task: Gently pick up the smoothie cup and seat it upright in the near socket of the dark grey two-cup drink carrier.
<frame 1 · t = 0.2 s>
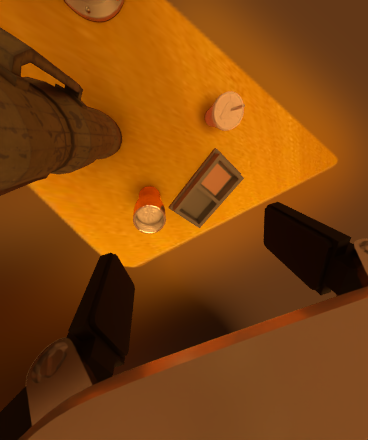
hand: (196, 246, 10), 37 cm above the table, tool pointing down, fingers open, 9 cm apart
beer glass: (149, 196, 45), on the table
smoothie: (211, 117, 39), on the table
drink carrier: (203, 190, 47), on the table
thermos: (102, 135, 36), on the table
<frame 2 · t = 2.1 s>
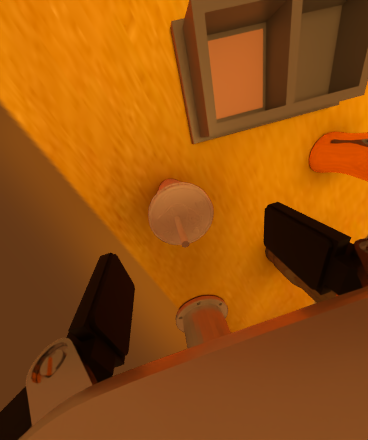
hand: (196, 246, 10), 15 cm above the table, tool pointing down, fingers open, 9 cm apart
beer glass: (324, 152, 26), on the table
smoothie: (170, 190, 24), on the table
drink carrier: (264, 73, 19), on the table
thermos: (283, 244, 33), on the table
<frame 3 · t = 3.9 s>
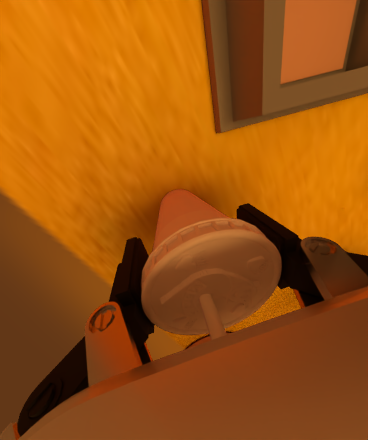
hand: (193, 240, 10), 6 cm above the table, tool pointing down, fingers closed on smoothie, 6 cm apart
smoothie: (179, 206, 15), on the table, touching gripper
drink carrier: (350, 4, 11), on the table
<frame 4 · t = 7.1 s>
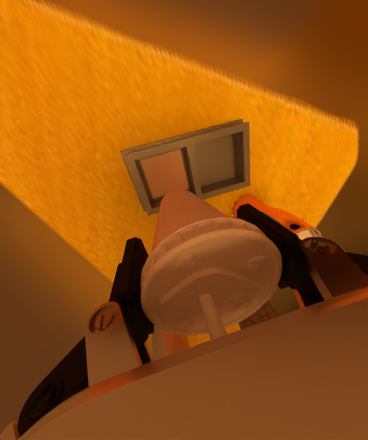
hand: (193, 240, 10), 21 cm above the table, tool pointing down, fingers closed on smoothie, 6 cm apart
beer glass: (245, 207, 36), on the table
smoothie: (179, 206, 15), point 16 cm above the table, touching gripper
drink carrier: (188, 167, 29), on the table
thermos: (227, 266, 44), on the table
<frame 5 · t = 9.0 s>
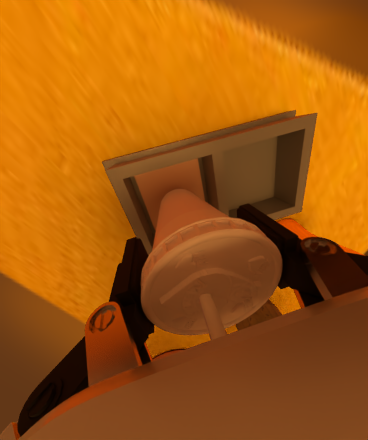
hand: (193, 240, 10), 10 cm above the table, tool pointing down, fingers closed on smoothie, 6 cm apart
beer glass: (279, 234, 26), on the table
smoothie: (179, 206, 15), point 5 cm above the table, touching gripper
drink carrier: (207, 183, 20), on the table
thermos: (249, 304, 34), on the table
when the fingers open (8 cm above the table, at t = 10.5 s): smoothie stays where it is, resting on drink carrier.
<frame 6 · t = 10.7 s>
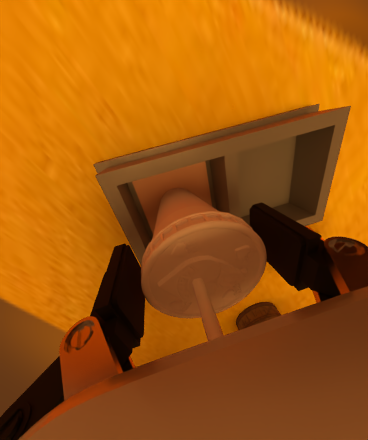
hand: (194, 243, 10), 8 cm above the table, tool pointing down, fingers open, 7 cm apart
smoothie: (177, 204, 16), point 1 cm above the table, touching drink carrier
drink carrier: (215, 188, 17), on the table
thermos: (255, 315, 32), on the table
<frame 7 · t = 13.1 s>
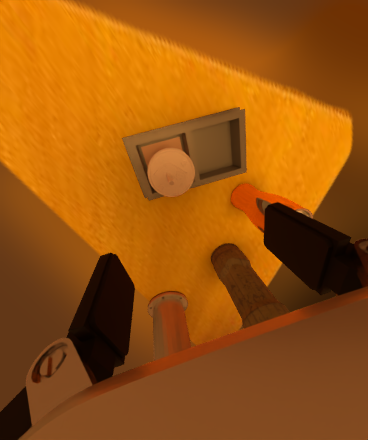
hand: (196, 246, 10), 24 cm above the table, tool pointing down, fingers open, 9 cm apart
beer glass: (242, 195, 37), on the table
smoothie: (165, 163, 29), point 1 cm above the table, touching drink carrier
drink carrier: (187, 155, 30), on the table
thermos: (225, 255, 45), on the table
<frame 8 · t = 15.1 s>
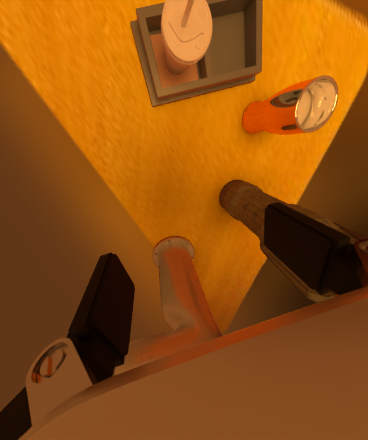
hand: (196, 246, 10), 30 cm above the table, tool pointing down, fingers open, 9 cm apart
beer glass: (254, 118, 35), on the table
smoothie: (175, 61, 27), point 1 cm above the table, touching drink carrier
drink carrier: (198, 57, 28), on the table
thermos: (234, 195, 43), on the table
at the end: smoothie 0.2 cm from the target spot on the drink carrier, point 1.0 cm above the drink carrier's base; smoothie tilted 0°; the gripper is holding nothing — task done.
